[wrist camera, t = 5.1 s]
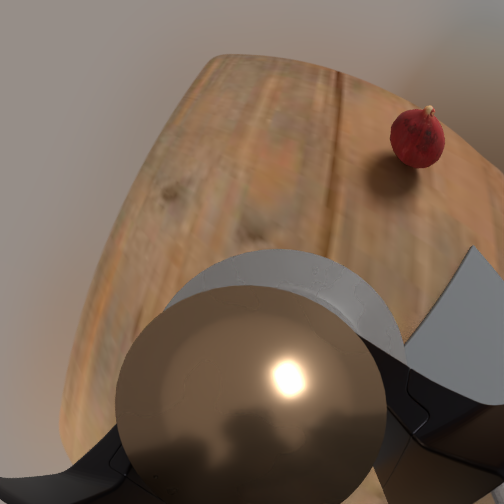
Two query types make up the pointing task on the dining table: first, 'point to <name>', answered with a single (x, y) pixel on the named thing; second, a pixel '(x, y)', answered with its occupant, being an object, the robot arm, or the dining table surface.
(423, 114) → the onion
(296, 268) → the cylinder on round base
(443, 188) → the dining table surface
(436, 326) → the mat
